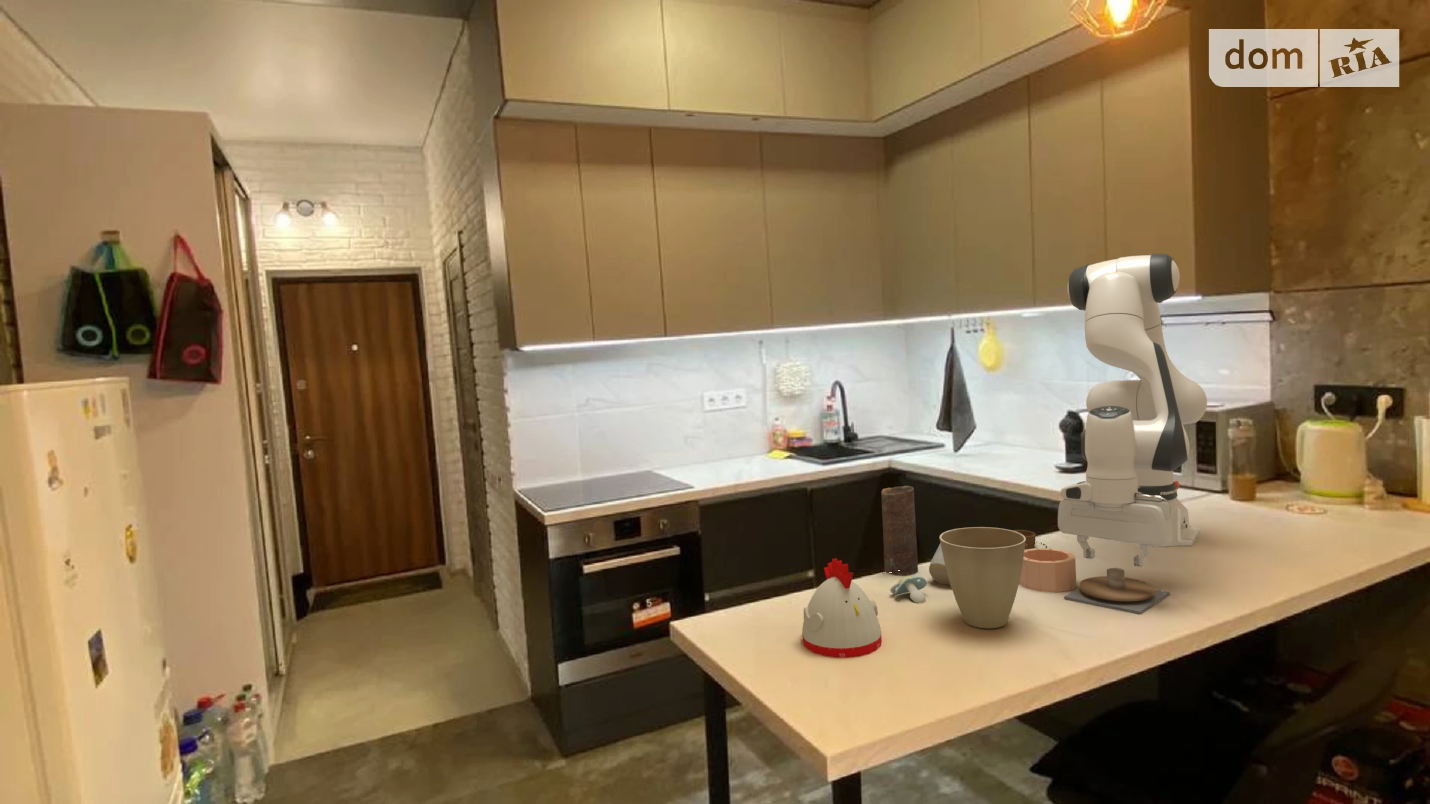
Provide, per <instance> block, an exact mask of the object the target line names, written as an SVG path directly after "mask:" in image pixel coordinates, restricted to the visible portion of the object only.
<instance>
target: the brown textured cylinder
mask: <svg viewBox="0 0 1430 804" xmlns="http://www.w3.org/2000/svg"><path fill="white" fill-rule="evenodd" d="M881 510H882V511H881V513H882V514H881V516H882V530H883V531H882V535H883V536H882V537H883V562H884V564H883V565H884V572H885V573H887V574H888V573H889V572H892V573H889V575H892V576H902V577H903V576H904V577H907V576H911V575H916V573H918V572H919V569H918V568H919V565H918V564H919V560H918V559H919V558H918V545H917V544H918V543H917V530H916V529H917V528H916V511H915V510H916V507H915V489H914V487H913V486H910V485H904V486H894V487H887V488H885V487H884V488H883V489H882V490H881ZM898 570H900V571H898Z"/></svg>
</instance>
